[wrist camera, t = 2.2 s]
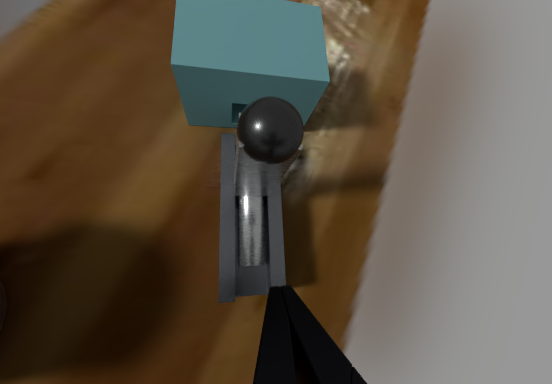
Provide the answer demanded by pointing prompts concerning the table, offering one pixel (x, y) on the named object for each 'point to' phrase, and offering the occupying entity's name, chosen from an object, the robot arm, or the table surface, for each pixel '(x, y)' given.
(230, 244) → the outer sleeve
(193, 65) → the socket block
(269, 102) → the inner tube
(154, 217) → the table surface
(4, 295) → the food container
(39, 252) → the table surface
